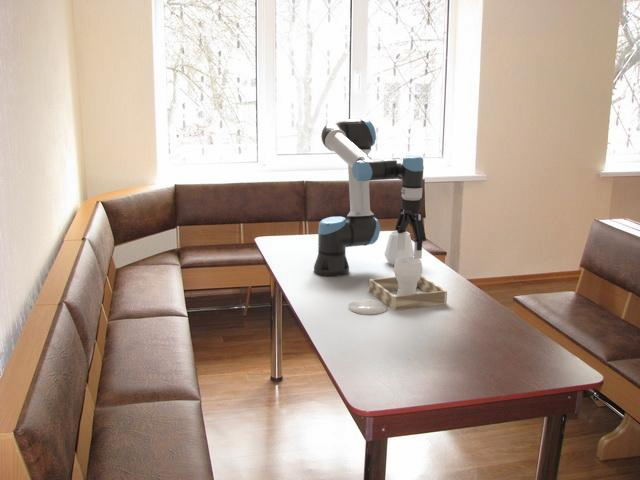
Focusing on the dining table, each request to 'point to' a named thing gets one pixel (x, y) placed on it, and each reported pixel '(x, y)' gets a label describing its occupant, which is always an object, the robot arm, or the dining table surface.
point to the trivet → (367, 307)
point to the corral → (430, 298)
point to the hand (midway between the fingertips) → (409, 254)
